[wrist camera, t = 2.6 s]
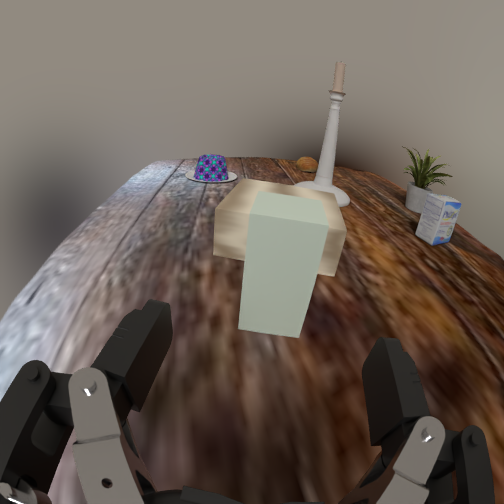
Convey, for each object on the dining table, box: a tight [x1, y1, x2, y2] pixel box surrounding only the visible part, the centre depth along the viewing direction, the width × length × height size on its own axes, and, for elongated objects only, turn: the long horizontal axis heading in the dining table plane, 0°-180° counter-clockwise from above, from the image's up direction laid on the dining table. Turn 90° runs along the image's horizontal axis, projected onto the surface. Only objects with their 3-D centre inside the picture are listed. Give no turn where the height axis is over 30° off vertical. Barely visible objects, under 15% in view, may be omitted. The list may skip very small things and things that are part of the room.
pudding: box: [185, 155, 237, 182], centre depth 60 cm, size 12×12×5 cm
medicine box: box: [415, 193, 461, 246], centre depth 42 cm, size 8×4×9 cm, turn 112°
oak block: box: [213, 179, 347, 276], centre depth 36 cm, size 14×14×6 cm
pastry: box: [296, 157, 318, 173], centre depth 79 cm, size 9×7×4 cm
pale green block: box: [238, 191, 329, 338], centre depth 21 cm, size 5×5×10 cm
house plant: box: [405, 149, 452, 213], centre depth 56 cm, size 14×14×16 cm
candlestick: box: [294, 62, 350, 207], centre depth 50 cm, size 13×13×30 cm
